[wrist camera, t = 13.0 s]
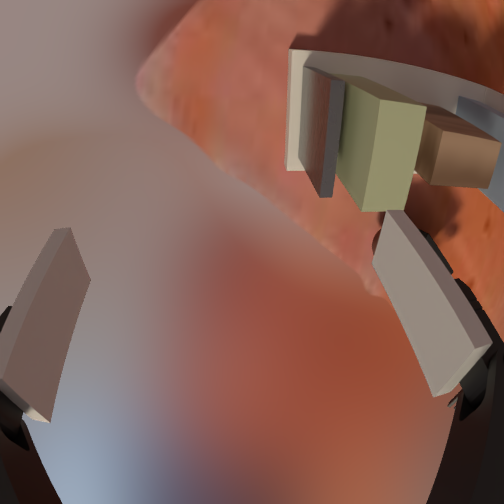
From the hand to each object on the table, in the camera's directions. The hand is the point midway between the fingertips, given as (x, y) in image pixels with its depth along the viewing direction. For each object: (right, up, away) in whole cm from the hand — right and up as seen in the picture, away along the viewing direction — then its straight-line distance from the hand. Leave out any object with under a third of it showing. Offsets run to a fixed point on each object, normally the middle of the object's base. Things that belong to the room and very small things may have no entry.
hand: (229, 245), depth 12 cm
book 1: (+9, +13, +16) cm, 22 cm away
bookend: (+6, +12, +15) cm, 20 cm away
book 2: (+17, +13, +16) cm, 27 cm away
